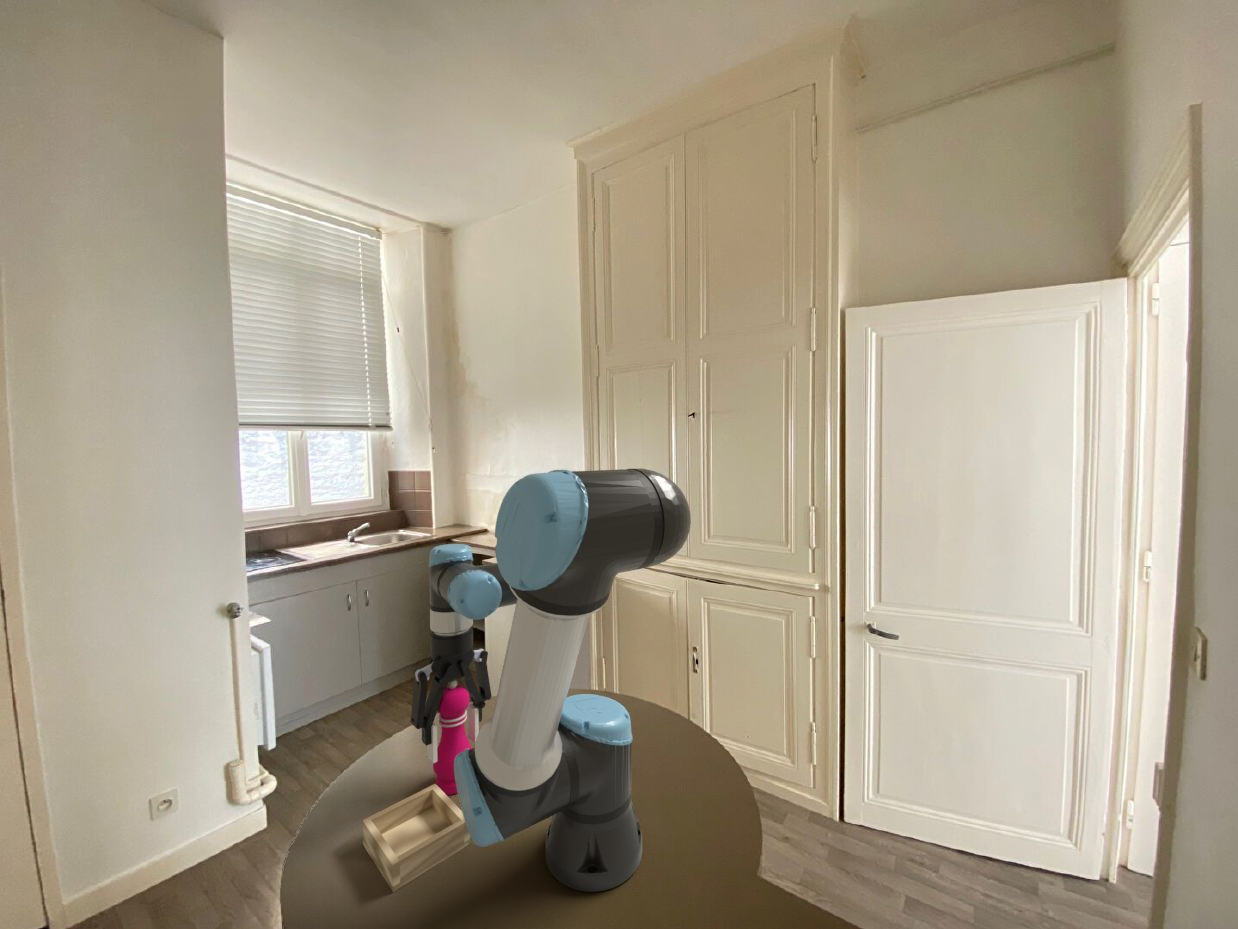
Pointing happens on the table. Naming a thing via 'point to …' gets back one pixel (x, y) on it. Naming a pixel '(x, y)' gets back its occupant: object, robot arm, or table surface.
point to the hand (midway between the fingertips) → (453, 749)
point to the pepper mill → (451, 735)
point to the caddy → (414, 835)
